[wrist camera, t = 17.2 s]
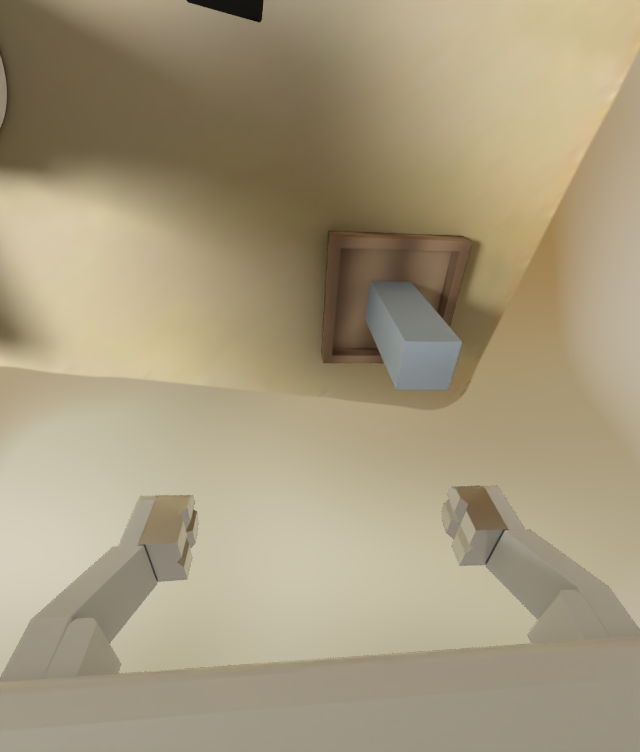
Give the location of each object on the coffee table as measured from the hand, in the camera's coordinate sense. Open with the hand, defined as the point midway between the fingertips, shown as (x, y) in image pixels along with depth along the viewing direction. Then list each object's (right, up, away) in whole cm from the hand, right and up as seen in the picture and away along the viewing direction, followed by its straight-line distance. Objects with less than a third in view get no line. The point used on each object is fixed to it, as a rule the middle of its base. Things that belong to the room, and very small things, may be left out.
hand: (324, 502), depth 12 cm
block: (+7, +12, +29) cm, 33 cm away
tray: (+7, +13, +30) cm, 33 cm away
